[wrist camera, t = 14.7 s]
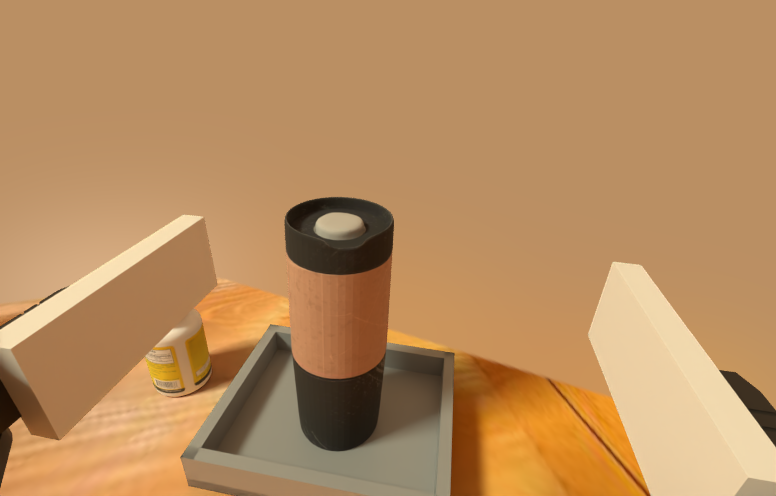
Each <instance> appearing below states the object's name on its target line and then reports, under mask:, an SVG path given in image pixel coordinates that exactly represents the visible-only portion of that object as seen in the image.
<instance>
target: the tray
mask: <svg viewBox="0 0 776 496" xmlns="http://www.w3.org/2000/svg"><path fill="white" fill-rule="evenodd" d="M453 385H454V353H451V352H444V351H438V350H431V349H425V348H419V347H412V346H406V345H399V344H393V343H387V347H386V356H385V365H384V374H383V383H382V391H381V400H380V409H379V416H378V422H377V425H376V428H375V430H374V432H373V433H372V435H371V436H370V437H369V438H368V439H367V440H366V441H365V442H364V443H362V444H361V445H359V446H357V447H355V448H353V449H350V450H345V451H328V450H324V449H321V448H319V447H317V446H315V445H314V444H312V443H311V442H310V441H309V440H308V439H307V438H306V436H305V435H304V433H303V431H302V429H301V425H300V419H299V411H298V402H297V393H296V384H295V375H294V366H293V357H292V346H291V328H290V327H284V326H278V325H270V326H269V328H268V329H267V331H266V332H265V334H264V335H263V337H262V338H261V340H260V341H259V342H258V344H257V345H256V347H255V348H254V350H253V351H252V353H251V354H250V356H249V357H248V359H247V360H246V362H245V363H244V365H243V366H242V368H241V369H240V370H239V372H238V373H237V375H236V376H235V378H234V379H233V381H232V382H231V384H230V385H229V387H228V388H227V390H226V391H225V393H224V394H223V395H222V397H221V398H220V400H219V401H218V403H217V404H216V406H215V407H214V409H213V410H212V412H211V413H210V415H209V416H208V418H207V419H206V421H205V422H204V423H203V425H202V426H201V428H200V429H199V431H198V432H197V434H196V435H195V437H194V438H193V440H192V441H191V443H190V444H189V446H188V447H187V448H186V450H185V451H184V453H183V454H182V456H181V461H182V464H183V468H184V471H185V475H186V478H187V481H188V485H189V486H192V487H197V488H201V489H206V490H211V491H215V492H220V493H225V494H230V495H234V496H450V489H451V454H452V419H453Z"/></svg>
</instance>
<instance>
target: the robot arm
mask: <svg viewBox="0 0 776 496" xmlns="http://www.w3.org/2000/svg"><path fill="white" fill-rule="evenodd" d="M217 285H218V284H217V279H216V274H215V270H214V265H213V260H212V255H211V250H210V245H209V240H208V235H207V230H206V225H205V220H204V217H199V216H191V215H182V216H181V217H179V218H177V219H176V220H174V221H173V222H171V223H169V224H168V225H166V226H165V227H163V228H161V229H160V230H158V231H157V232H155V233H153V234H152V235H150V236H149V237H147V238H145V239H144V240H142V241H141V242H139V243H137V244H136V245H134V246H133V247H131V248H130V249H128V250H126V251H125V252H123V253H121V254H120V255H118V256H117V257H115V258H113V259H112V260H110V261H109V262H107V263H106V264H104V265H102V266H101V267H99V268H98V269H96V270H94V271H93V272H91V273H90V274H88V275H86V276H85V277H83V278H82V279H80V280H78V281H77V282H75V283H74V284H72V285H70V286H68V287H66V288H63V289H60V290H58V291H56V292H55V293H53V294H52V295H50V296H48V297H47V298H45V299H44V300H42V301H40V303H39V305H37V304H36V305H34V306H32V307H31V308H29V309H27V310H26V311H24V314H19V315H18V316H16V317H15V318H13V319H11V320H10V321H8V322H6V323H5V324H3V325H2V326H0V487H1V483H2V479H3V475H4V471H5V468H6V464H7V460H8V456H9V452H10V448H11V445H12V441H13V440H12V433H11V431H10V429H9V428H8V427H9V426H11V425H12V424H13V423H14V422H15V421H16V420H18V419H19V418H20V417H21V418H22V420H23V421H24V423H25V425H26V426H27V428H28V430H29V431H30V433H31V435H36V436H41V437H46V438H51V439H56V440H61V439H62V438H63V437H64V436H65V435H66V434H67V433H68V432H69V431H70V430H71V429H72V428H73V427H74V426H75V425H76V424H77V423H78V422H79V421H80V420H81V419H82V418H83V417H84V416H85V415H86V414H87V413H88V412H89V411H90V410H91V409H92V408H93V407H94V406H95V405H96V404H97V403H98V402H99V401H100V400H101V399H102V398H103V397H104V396H105V395H106V394H107V393H108V392H109V391H110V390H111V389H112V388H113V387H114V386H115V385H116V384H117V383H118V382H119V381H120V380H121V379H122V378H123V377H124V376H125V375H127V374H128V373H129V372H130V371H131V370H132V369H133V368H134V367H135V366H136V365H137V364H138V363H139V362H140V361H141V360H142V359H143V358H144V357H145V356H146V355H147V354H148V353H149V352H150V351H151V350H152V349H153V348H154V347H155V346H156V345H157V344H158V343H159V342H160V341H161V340H162V339H163V338H164V337H165V336H166V335H167V334H168V333H169V332H170V331H171V330H172V329H173V328H174V327H175V326H176V325H177V324H178V323H179V322H180V321H181V320H182V319H183V318H184V317H185V316H186V315H187V314H188V313H189V312H190V311H191V310H192V309H193V308H194V307H195V306H196V305H197V304H198V303H199V302H200V301H201V300H202V299H203V298H204V297H205V296H206V295H207V294H208V293H209V292H211V291H212V290H213V289H214V288H215V287H216V286H217ZM588 336H589V339H590V341H591V344H592V346H593V349H594V352H595V354H596V356H597V359H598V362H599V364H600V367H601V369H602V372H603V375H604V377H605V379H606V382H607V385H608V387H609V390H610V392H611V395H612V398H613V400H614V403H615V405H616V408H617V410H618V413H619V415H620V418H621V420H622V423H623V426H624V428H625V431H626V433H627V436H628V438H629V441H630V443H631V446H632V449H633V451H634V454H635V456H636V459H637V461H638V464H639V466H640V469H641V472H642V474H643V477H644V479H645V482H646V484H647V487H648V489H649V492H650V495H651V496H776V410H775V409H774V408H773V407H772V405H771V404H770V403H769V402H768V400H767V399H766V398H765V397H764V395H763V394H762V393H761V392H760V391H759V390H758V389H756V388H755V387H754V386H752V385H751V384H750V383H749V382H747V381H746V380H745V379H743V378H742V377H741V376H740V375H738V374H737V373H736V372H729V371H722V370H718V369H717V367H716V366H715V365H714V363H713V362H712V361H711V359H710V358H709V357H708V355H707V354H706V352H705V351H704V350H703V348H702V347H701V346H700V344H699V343H698V342H697V340H696V339H695V338H694V336H693V335H692V333H691V332H690V331H689V330H688V328H687V327H686V326H685V324H684V323H683V321H682V320H681V319H680V317H679V316H678V315H677V313H676V312H675V311H674V309H673V308H672V306H671V305H670V304H669V302H668V301H667V300H666V299H665V297H664V296H663V294H662V293H661V292H660V290H659V289H658V288H657V286H656V285H655V283H654V282H653V281H652V280H651V278H650V277H649V275H648V274H647V273H646V271H645V270H644V269H643V267H642V266H641V265H637V264H628V263H619V262H613V263H612V266H611V269H610V272H609V275H608V278H607V280H606V284H605V286H604V289H603V292H602V295H601V298H600V301H599V304H598V307H597V310H596V312H595V316H594V318H593V321H592V324H591V327H590V330H589V333H588Z"/></svg>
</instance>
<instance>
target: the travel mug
mask: <svg viewBox="0 0 776 496" xmlns="http://www.w3.org/2000/svg"><path fill="white" fill-rule="evenodd" d="M393 231H394V220H393V216H392V214H391V213H390V212H389V211H388V210H387V209H386V208H384V207H383V206H380V205H378V204H376V203H373V202H370V201H366V200H362V199H356V198H348V197H329V198H320V199H314V200H309V201H306V202H303V203H300V204H298V205H296V206H294V207H293V208H292V209H290V210H289V211H288V212H287V214H286V216H285V240H286V257H287V275H288V292H289V310H290V328H291V346H292V357H293V366H294V375H295V384H296V393H297V402H298V411H299V419H300V425H301V429H302V431H303V433H304V435H305V436H306V438H307V439H308V440H309V441H310V442H311V443H312V444H314V445H315V446H317V447H319V448H321V449H324V450H328V451H345V450H350V449H353V448H355V447H357V446H359V445H361V444H362V443H364V442H365V441H366V440H367V439H368V438H369V437H370V436H371V435H372V433H373V432H374V430H375V428H376V425H377V422H378V416H379V409H380V400H381V391H382V383H383V374H384V365H385V356H386V347H387V330H388V313H389V297H390V281H391V280H390V279H391V263H392V248H393Z"/></svg>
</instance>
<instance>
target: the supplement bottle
mask: <svg viewBox="0 0 776 496" xmlns="http://www.w3.org/2000/svg"><path fill="white" fill-rule="evenodd" d="M145 358H146V362H147V365H148V368H149V371H150V375H151V378H152V381H153V384H154V386H155V388H156V390H157V391H158V392H159V393H160V394H162V395H165V396H169V397H178V396H183V395H187V394H189V393H192V392H194V391H196V390H197V389H199V388H200V387H202V386H203V385H204V384H205V383H206V382H207V381H208V379H209V378H210V376H211V372H212V366H211V360H210V356H209V352H208V347H207V342H206V337H205V332H204V328H203V323H202V319H201V316H200V314H199V312H198V311H197V310H196V309H194V308H193V309H192V310H191V311H190V312H189V313H188V314H187V315H186V316H185V317H184V318H183V319H182V320H181V321H180V322H179V323H178V324H177V325H176V326H175V327H174V328H173V329H172V330H171V331H170V332H169V333H168V334H167V335H166V336H165V337H164V338H163V339H162V340H161V341H160V342H159V343H158V344H157V345H156V346H155V347H154V348H153V349H152V350H151V351H150V352H149V353H148V354H147V355H146V356H145Z"/></svg>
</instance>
